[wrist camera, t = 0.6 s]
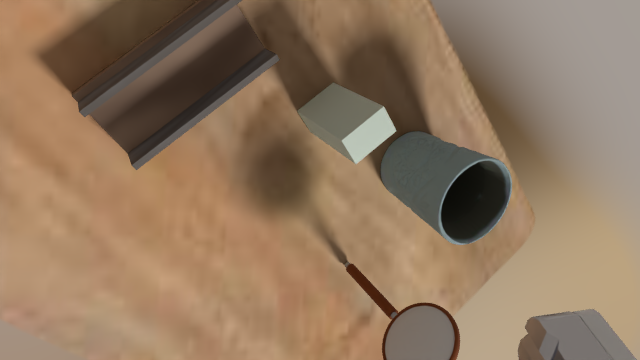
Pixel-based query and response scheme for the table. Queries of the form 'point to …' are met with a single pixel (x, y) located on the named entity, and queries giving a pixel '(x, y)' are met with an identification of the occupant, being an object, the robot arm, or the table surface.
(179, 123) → the track
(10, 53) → the table surface
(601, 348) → the robot arm
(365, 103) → the pale green eraser block
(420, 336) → the magnifying glass
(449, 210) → the blue-grey cylindrical cup
